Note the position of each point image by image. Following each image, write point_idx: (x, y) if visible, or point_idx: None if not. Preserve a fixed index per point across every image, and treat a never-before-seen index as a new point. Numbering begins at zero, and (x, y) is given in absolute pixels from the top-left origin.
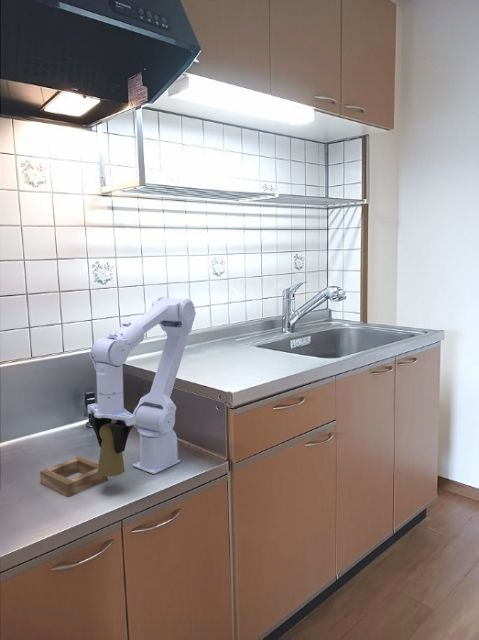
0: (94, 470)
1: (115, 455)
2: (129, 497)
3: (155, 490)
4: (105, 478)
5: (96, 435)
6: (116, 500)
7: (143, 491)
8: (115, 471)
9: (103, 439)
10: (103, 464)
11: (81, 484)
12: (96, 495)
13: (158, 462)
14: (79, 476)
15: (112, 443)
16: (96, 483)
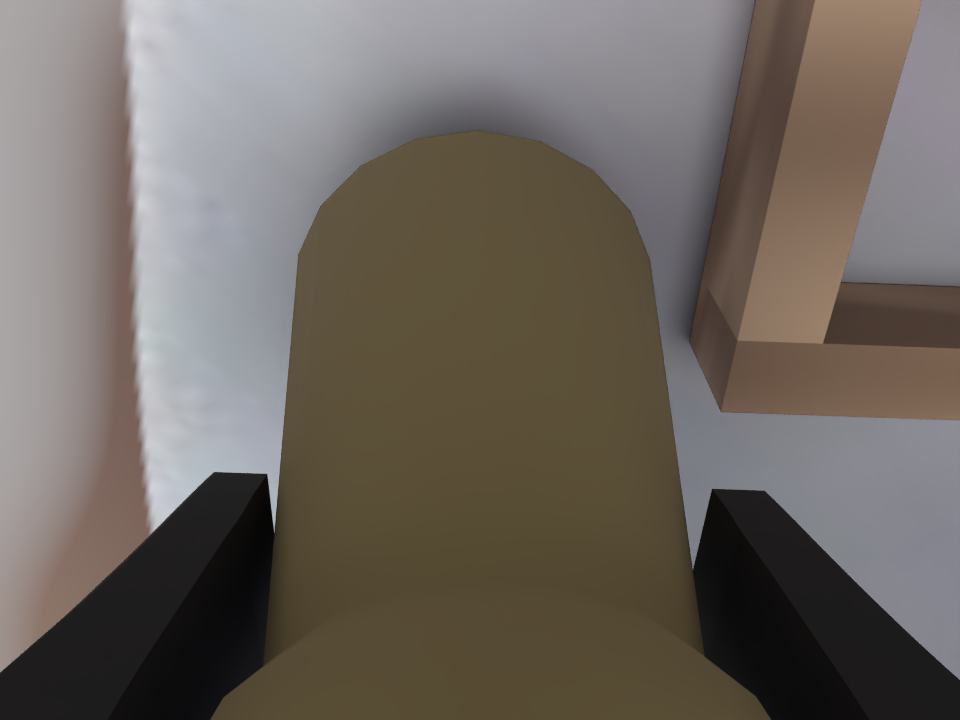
0: (815, 291)
1: (286, 440)
2: (219, 217)
3: (162, 431)
4: (700, 327)
5: (935, 670)
6: (263, 96)
7: (224, 366)
8: (301, 278)
9: (487, 595)
10: (437, 224)
11: (781, 19)
12: (529, 42)
13: None
14: (879, 62)
15: (288, 605)
16: (717, 214)
